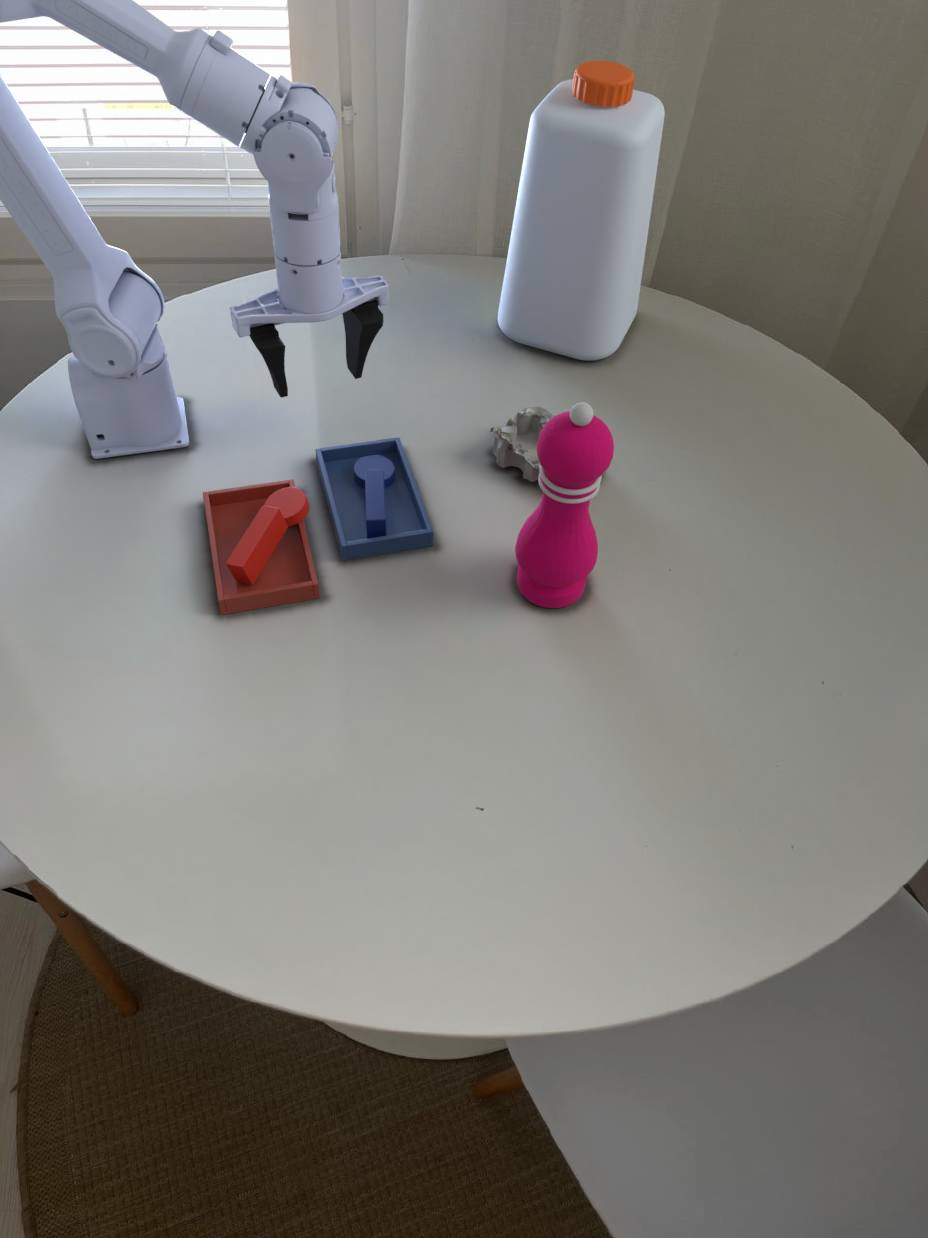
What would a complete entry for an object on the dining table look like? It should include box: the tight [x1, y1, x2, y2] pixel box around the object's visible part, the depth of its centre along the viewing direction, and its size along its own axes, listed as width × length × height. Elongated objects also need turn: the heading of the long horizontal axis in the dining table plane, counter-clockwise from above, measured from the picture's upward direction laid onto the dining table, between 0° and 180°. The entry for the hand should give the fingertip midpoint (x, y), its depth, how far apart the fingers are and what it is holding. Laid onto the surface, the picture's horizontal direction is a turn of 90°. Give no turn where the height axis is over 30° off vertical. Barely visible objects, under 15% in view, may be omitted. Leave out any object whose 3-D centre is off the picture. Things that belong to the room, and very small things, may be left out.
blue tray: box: [315, 436, 434, 562], centre depth 88 cm, size 9×14×2 cm, turn 16°
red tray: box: [202, 478, 321, 616], centre depth 83 cm, size 9×14×2 cm, turn 16°
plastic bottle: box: [497, 60, 666, 362], centre depth 100 cm, size 15×15×28 cm
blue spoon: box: [354, 455, 395, 539], centre depth 87 cm, size 11×4×3 cm, turn 5°
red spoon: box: [226, 486, 311, 585], centre depth 82 cm, size 11×4×3 cm, turn 159°
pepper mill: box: [514, 401, 615, 609], centre depth 75 cm, size 7×7×20 cm
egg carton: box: [489, 406, 555, 483], centre depth 92 cm, size 11×8×4 cm
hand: (318, 381), depth 89 cm, fingers open, 7 cm apart
